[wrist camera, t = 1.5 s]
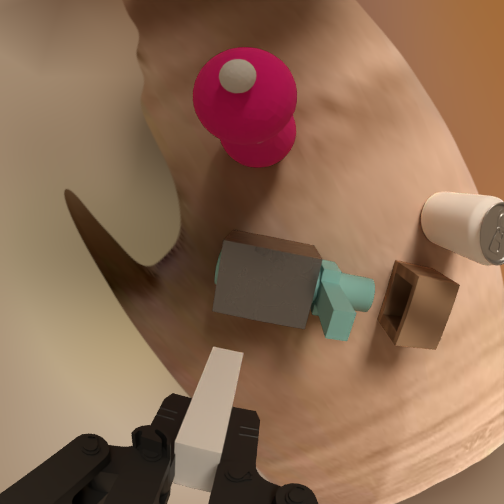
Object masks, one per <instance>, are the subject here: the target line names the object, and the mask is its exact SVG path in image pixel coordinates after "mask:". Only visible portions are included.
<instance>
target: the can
mask: <svg viewBox="0 0 504 504" xmlns="http://www.w3.org/2000/svg"><path fill="white" fill-rule="evenodd" d="M421 225H422V229H423V232H424V234H425V236H426V237H427V238H428V239H429V240H430V241H431V242H432V243H434V244H436V245H438V246H441V247H443V248H445V249H447V250H450V251H452V252H454V253H457V254H459V255H461V256H463V257H466V258H468V259H470V260H473V261H475V262H477V263H480V264H482V265H502V264H504V202H503V201H502V200H501V199H499V198H497V197H493V196H486V195H477V194H467V193H454V192H438V193H435V194H433V195H432V196H430V197H429V198H428V200H427V201H426V202H425V204H424V206H423V209H422V213H421Z"/></svg>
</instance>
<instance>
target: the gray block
mask: <svg viewBox="0 0 504 504" xmlns="http://www.w3.org/2000/svg"><path fill="white" fill-rule="evenodd" d="M322 260H323V259H322V258H321V256H320V254H319V253H318V251H317V249H316V248H315V246H314V245H309V244H304V243H299V242H294V241H289V240H284V239H279V238H274V237H269V236H263V235H258V234H253V233H248V232H243V231H238V230H233V231H232V232H231V233H230V234H229V235H228V236H227V237H226V238H225V239H224V240H223V246H222V252H221V259H220V265H219V271H218V277H217V284H216V290H215V297H214V303H213V310H212V311H214V312H218V313H223V314H228V315H232V316H237V317H242V318H247V319H252V320H257V321H262V322H267V323H273V324H278V325H284V326H289V327H295V328H301V329H305V326H306V322H307V319H308V315H309V311H310V308H311V304H312V300H313V296H314V292H315V289H316V285H317V281H318V277H319V272H320V268H321V264H322Z"/></svg>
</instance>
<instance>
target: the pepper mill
mask: <svg viewBox="0 0 504 504" xmlns="http://www.w3.org/2000/svg"><path fill="white" fill-rule="evenodd" d="M296 103H297V89H296V83H295V81H294V78H293V76H292V74H291V72H290V70H289V69H288V67H287V66H286V65H285V64H284V63H283V62H282V61H281V60H280V59H278V58H277V57H276V56H274V55H272V54H271V53H269V52H267V51H264V50H261V49H258V48H252V47H239V48H233V49H229V50H226V51H224V52H221V53H219V54H218V55H216V56H215V57H213V58H212V59H210V60H209V61H208V62H207V63H206V64H205V65H204V66H203V68H202V69H201V71H200V72H199V74H198V76H197V78H196V81H195V84H194V89H193V104H194V108H195V112H196V114H197V116H198V118H199V120H200V121H201V123H202V124H203V126H204V127H205V128H206V129H207V130H208V131H209V132H210V133H211V134H213V135H214V136H216V137H217V138H219V139H220V141H221V144H222V145H223V147H224V149H225V151H226V152H227V153H228V155H229V156H230V157H231V158H232V159H234V160H235V161H237V162H238V163H240V164H242V165H245V166H248V167H255V168H258V167H267V166H270V165H273V164H275V163H277V162H279V161H280V160H282V159H283V158H284V157H285V156H286V155H287V154H288V153H289V151H290V150H291V148H292V146H293V144H294V141H295V137H296V125H295V120H294V117H293V113H294V111H295V107H296Z"/></svg>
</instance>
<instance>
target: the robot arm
mask: <svg viewBox="0 0 504 504" xmlns="http://www.w3.org/2000/svg"><path fill="white" fill-rule="evenodd" d="M242 358H243V353H241V352H236V351H232V350H227V349H222V348H218V347H213V349H212V351H211V353H210V356H209V358H208V361H207V363H206V366H205V368H204V371H203V373H202V376H201V378H200V381H199V383H198V386H197V388H196V391H195V393H194V396H193V398H189V397H185V396H181V395H178V394H174V393H172V394H171V395H169V396H168V397H166V398H165V399H164V401H163V402H162V405H161V406H160V409H159V410H158V412H157V415H156V416H155V418H154V420H153V421H152V423H151V425H146V426H141V427H138V428H136V429H135V430H134V431H133V432H132V443H133V446H129V447H120V446H112V445H108V443H107V442H106V441H105V440H104V439H103V438H102V437H100V436H98V435H95V434H82V435H80V436H78V437H76V438H75V439H74V440H72V441H71V442H70V443H69V444H67V445H66V446H65V447H63V448H62V449H61V450H59V451H58V452H57V453H56V454H54V455H53V456H51V457H50V458H49V459H47V460H46V461H45V462H43V463H42V464H41V465H39V466H38V467H37V468H35V469H34V470H32V471H31V472H30V473H28V474H27V475H26V476H24V477H23V478H21V479H20V480H19V481H17V482H16V483H15V484H13V485H12V486H10V487H9V488H8V489H6V490H5V491H3V492H2V493H1V494H0V504H167V502H168V499H169V496H170V487H171V484H172V482H173V479H174V483H175V484H179V485H182V486H186V487H190V488H194V489H199V490H203V491H207V492H211V495H210V499H209V504H318V502H317V499H316V497H315V495H314V493H313V492H312V490H311V489H309V488H308V487H306V486H304V485H301V484H294V483H291V484H287V485H284V486H282V487H281V486H278V485H276V484H273V483H270V482H268V481H266V480H265V479H263V478H262V477H261V476H260V475H259V473H258V472H257V469H256V456H257V446H258V436H259V425H260V419H259V417H258V415H257V413H256V411H252V410H246V409H241V408H236V407H232V406H233V401H234V396H235V392H236V387H237V382H238V377H239V372H240V368H241V363H242Z"/></svg>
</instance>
